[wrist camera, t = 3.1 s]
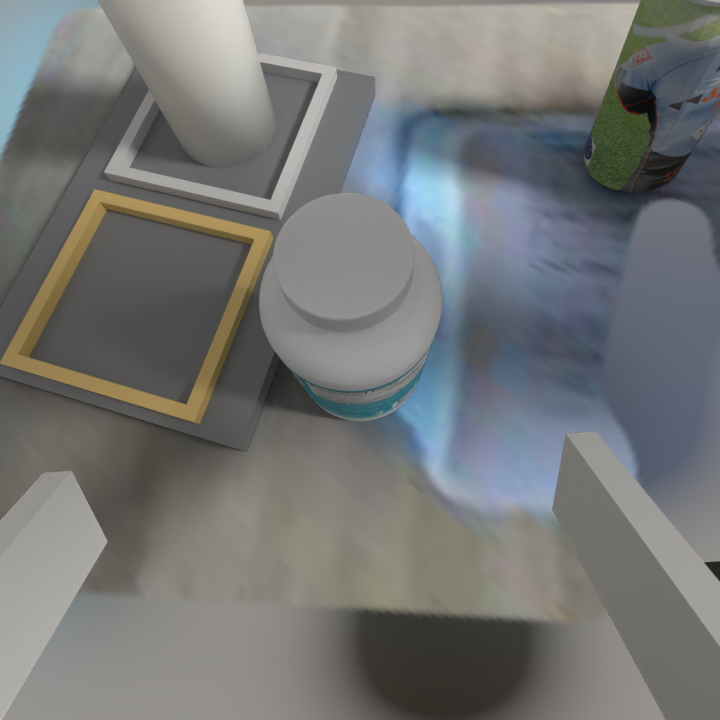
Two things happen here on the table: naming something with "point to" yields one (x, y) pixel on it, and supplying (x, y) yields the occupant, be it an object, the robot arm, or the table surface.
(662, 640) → the robot arm
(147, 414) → the grey base plate
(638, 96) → the beverage can
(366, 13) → the table surface
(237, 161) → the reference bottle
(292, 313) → the pill bottle
